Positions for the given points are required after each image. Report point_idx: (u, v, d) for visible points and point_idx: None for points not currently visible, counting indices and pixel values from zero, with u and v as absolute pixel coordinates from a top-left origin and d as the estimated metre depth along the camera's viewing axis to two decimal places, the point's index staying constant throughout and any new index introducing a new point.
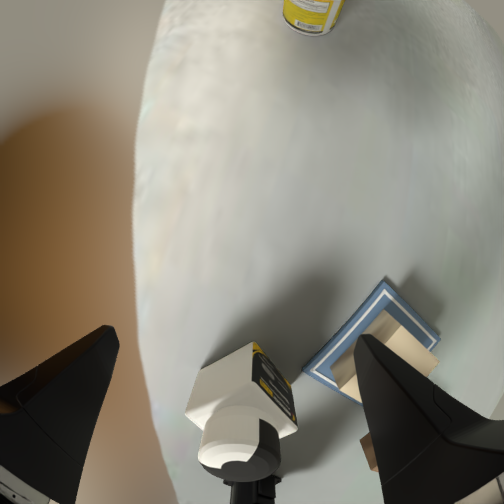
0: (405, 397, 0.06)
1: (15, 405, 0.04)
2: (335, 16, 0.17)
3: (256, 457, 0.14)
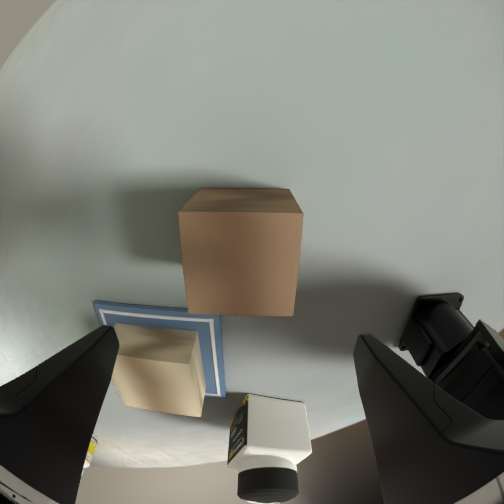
0: (405, 397, 0.06)
1: (15, 405, 0.04)
2: None
3: (247, 500, 0.18)
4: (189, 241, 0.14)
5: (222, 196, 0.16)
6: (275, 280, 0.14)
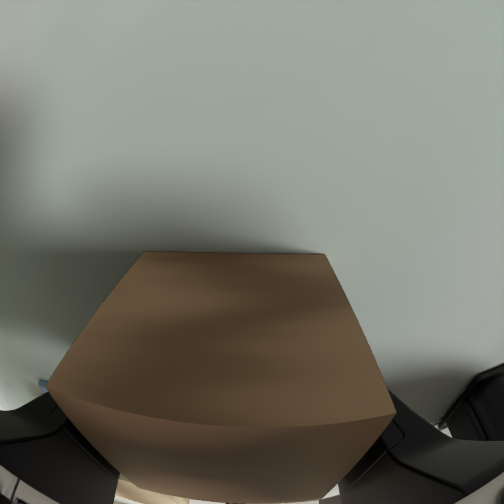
0: None
1: (52, 424, 0.04)
2: None
3: None
4: (95, 435, 0.04)
5: (173, 297, 0.06)
6: (294, 486, 0.05)
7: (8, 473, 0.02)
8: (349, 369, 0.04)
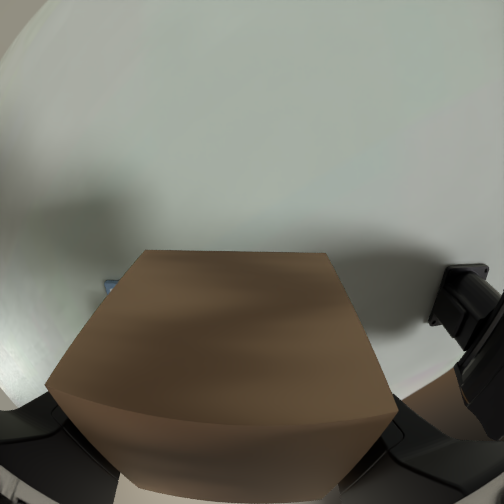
0: None
1: (52, 424, 0.04)
2: None
3: None
4: (95, 434, 0.04)
5: (174, 296, 0.06)
6: (295, 486, 0.05)
7: (8, 473, 0.02)
8: (351, 367, 0.04)
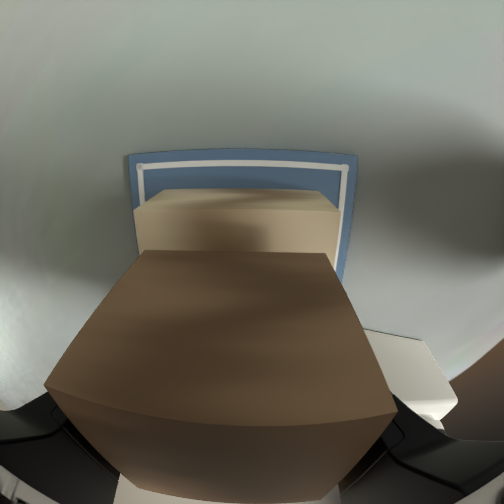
0: None
1: (51, 424, 0.04)
2: None
3: None
4: (94, 434, 0.04)
5: (173, 296, 0.06)
6: (294, 486, 0.05)
7: (8, 473, 0.02)
8: (350, 367, 0.04)
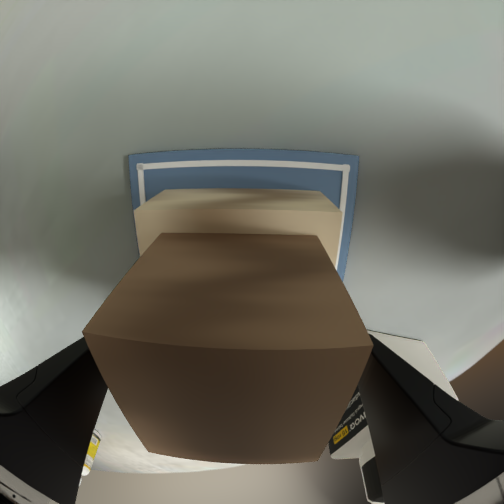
0: (405, 397, 0.06)
1: (15, 405, 0.04)
2: None
3: None
4: (119, 381, 0.05)
5: (190, 265, 0.08)
6: (293, 436, 0.06)
7: None
8: (334, 313, 0.06)
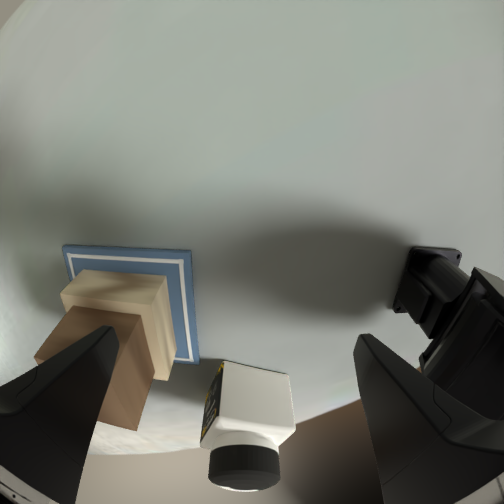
0: (405, 397, 0.06)
1: (15, 405, 0.04)
2: None
3: (219, 485, 0.16)
4: None
5: (75, 330, 0.15)
6: (110, 410, 0.13)
7: None
8: None
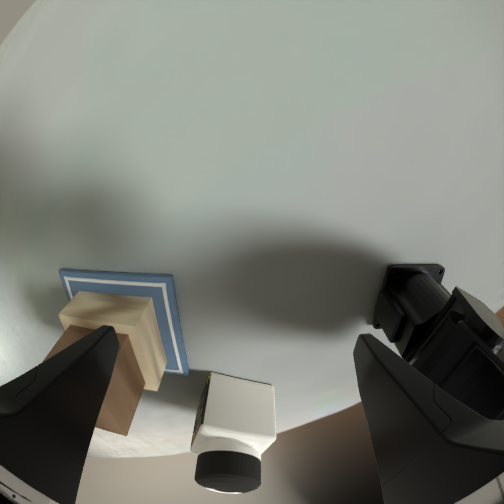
0: (405, 397, 0.06)
1: (15, 405, 0.04)
2: None
3: (204, 486, 0.17)
4: None
5: None
6: (102, 417, 0.15)
7: None
8: None
